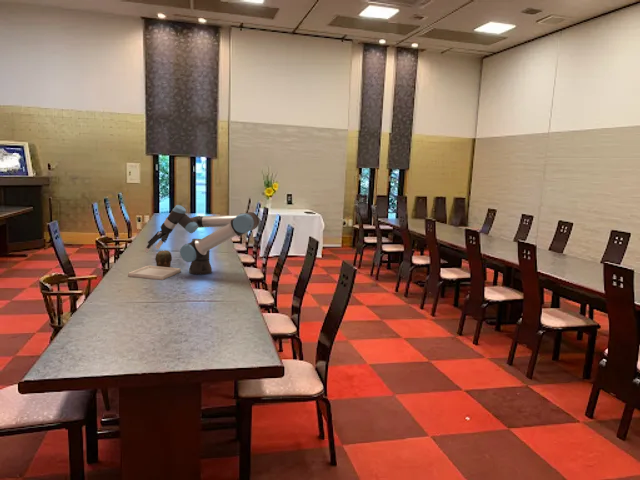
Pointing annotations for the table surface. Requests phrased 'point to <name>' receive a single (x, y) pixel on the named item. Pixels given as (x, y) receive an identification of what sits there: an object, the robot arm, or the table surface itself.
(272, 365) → the table surface
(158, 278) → the tray
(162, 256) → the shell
